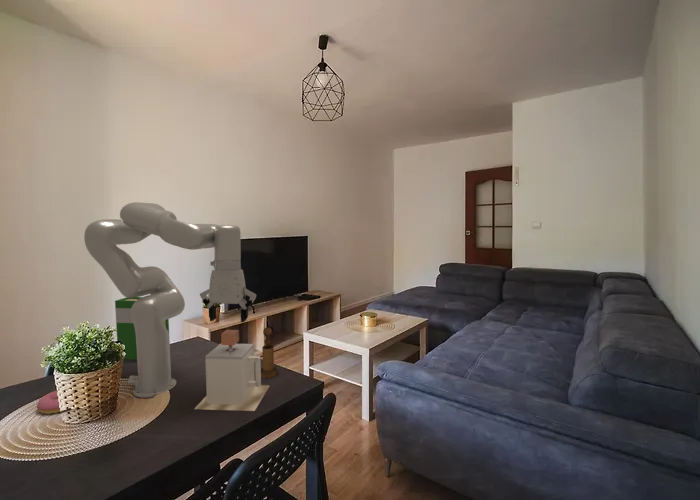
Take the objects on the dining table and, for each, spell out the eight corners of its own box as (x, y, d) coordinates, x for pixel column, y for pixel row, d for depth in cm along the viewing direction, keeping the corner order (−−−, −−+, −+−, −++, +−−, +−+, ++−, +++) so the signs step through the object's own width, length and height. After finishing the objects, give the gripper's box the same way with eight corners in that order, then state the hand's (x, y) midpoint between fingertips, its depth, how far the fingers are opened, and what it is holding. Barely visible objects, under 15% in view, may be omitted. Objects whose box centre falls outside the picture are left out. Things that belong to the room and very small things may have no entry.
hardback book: (170, 353, 150) (167, 297, 148) (158, 360, 142) (156, 301, 141) (131, 352, 152) (128, 296, 150) (118, 358, 144) (114, 300, 142)
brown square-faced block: (212, 396, 107) (210, 336, 106) (224, 383, 116) (222, 327, 114) (240, 396, 107) (238, 336, 105) (249, 384, 115) (248, 328, 114)
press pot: (207, 404, 106) (205, 356, 105) (222, 387, 117) (220, 343, 116) (254, 405, 105) (253, 357, 104) (265, 388, 116) (264, 344, 115)
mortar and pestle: (273, 381, 123) (272, 331, 122) (255, 380, 124) (254, 330, 123) (280, 373, 130) (279, 325, 128) (264, 372, 131) (263, 324, 130)
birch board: (194, 412, 103) (193, 409, 103) (217, 386, 119) (217, 384, 119) (254, 414, 103) (254, 410, 102) (270, 388, 118) (270, 385, 118)
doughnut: (48, 420, 100) (47, 406, 100) (29, 411, 105) (28, 397, 104) (91, 402, 110) (90, 389, 109) (72, 394, 115) (71, 382, 114)
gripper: (194, 266, 105) (195, 323, 106) (251, 268, 104) (251, 325, 105) (205, 263, 112) (206, 316, 114) (259, 264, 111) (259, 318, 113)
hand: (228, 320), depth 110 cm, fingers open, 9 cm apart
